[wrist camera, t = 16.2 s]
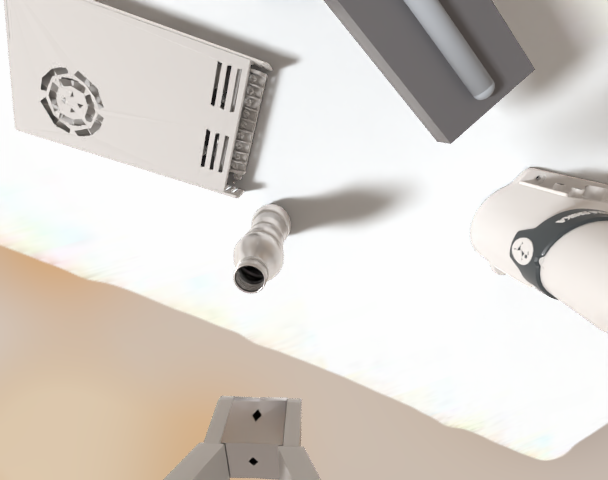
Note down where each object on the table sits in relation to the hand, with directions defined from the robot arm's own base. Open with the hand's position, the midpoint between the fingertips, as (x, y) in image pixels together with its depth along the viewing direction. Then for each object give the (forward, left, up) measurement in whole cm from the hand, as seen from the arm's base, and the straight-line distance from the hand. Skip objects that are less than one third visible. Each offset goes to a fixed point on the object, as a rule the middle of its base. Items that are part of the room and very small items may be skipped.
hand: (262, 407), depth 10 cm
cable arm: (-7, -21, -23) cm, 31 cm away
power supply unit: (+23, -13, -40) cm, 48 cm away
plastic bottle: (+5, +6, -39) cm, 40 cm away
